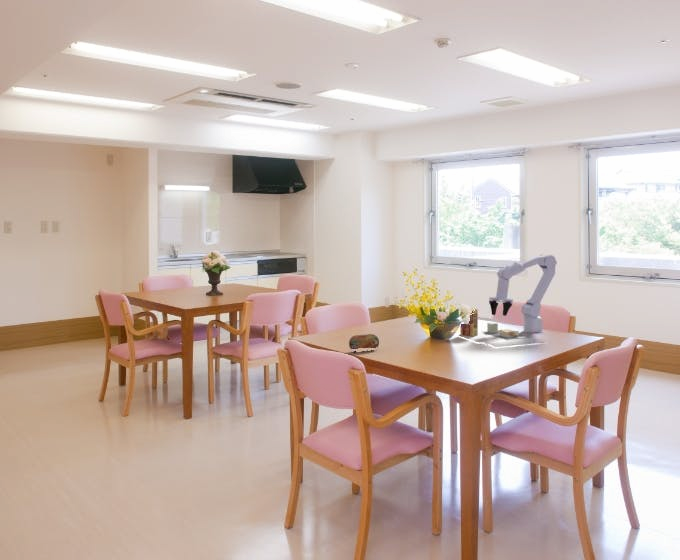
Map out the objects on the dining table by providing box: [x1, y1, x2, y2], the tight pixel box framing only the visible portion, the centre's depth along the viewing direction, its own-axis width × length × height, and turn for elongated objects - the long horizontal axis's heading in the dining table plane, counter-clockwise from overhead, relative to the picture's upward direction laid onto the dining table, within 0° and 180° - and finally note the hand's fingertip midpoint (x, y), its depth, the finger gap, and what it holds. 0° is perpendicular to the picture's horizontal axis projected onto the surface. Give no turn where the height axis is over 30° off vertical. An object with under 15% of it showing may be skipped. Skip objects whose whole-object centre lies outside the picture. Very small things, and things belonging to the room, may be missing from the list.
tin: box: [348, 333, 380, 350], centre depth 292 cm, size 15×3×8 cm, turn 105°
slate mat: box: [482, 329, 530, 341], centre depth 319 cm, size 14×25×1 cm, turn 17°
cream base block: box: [499, 328, 520, 338], centre depth 315 cm, size 7×7×3 cm
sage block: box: [486, 322, 499, 333], centre depth 326 cm, size 4×4×5 cm
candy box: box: [459, 308, 479, 337], centre depth 321 cm, size 9×4×15 cm, turn 39°
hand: (499, 315), depth 322 cm, fingers open, 7 cm apart
